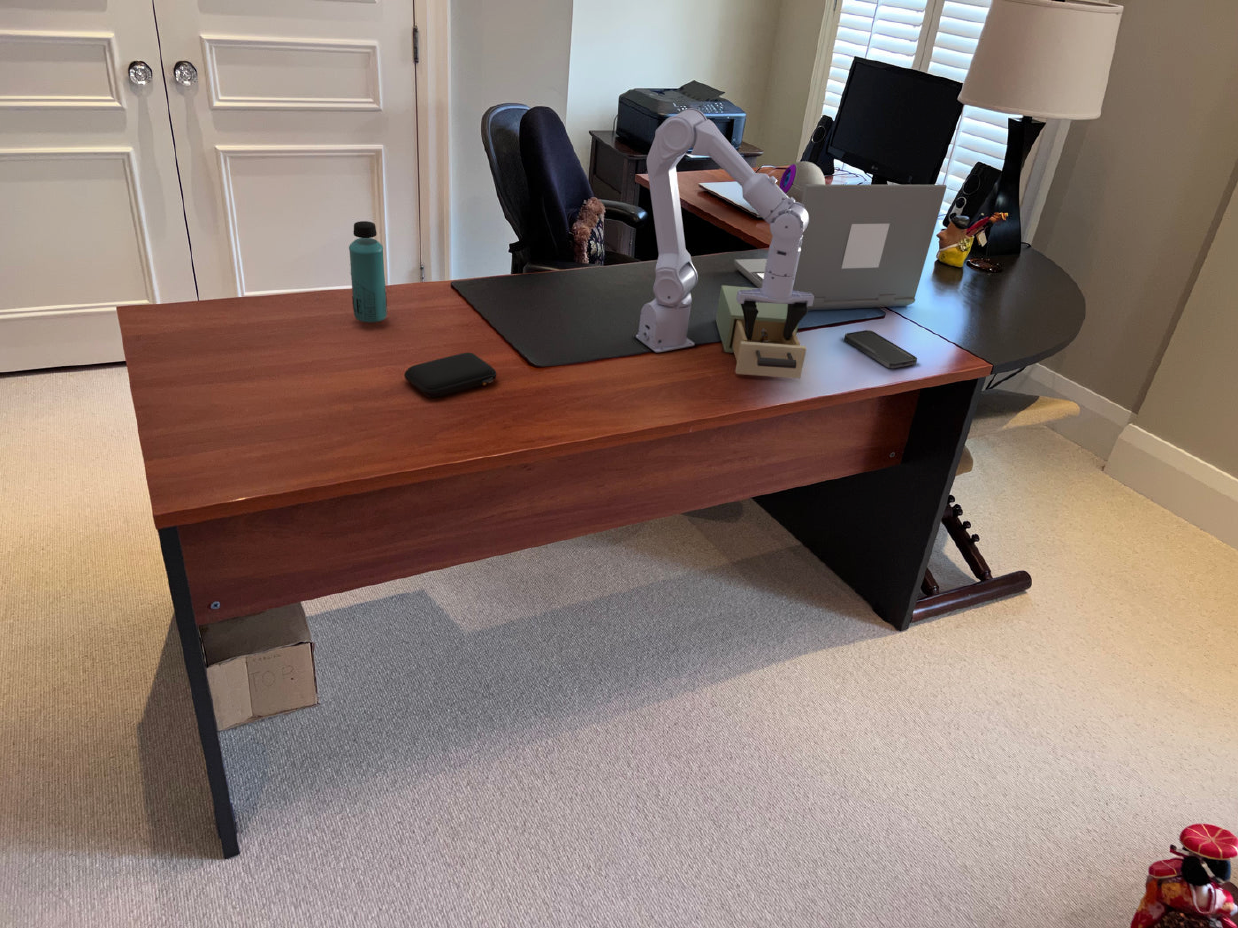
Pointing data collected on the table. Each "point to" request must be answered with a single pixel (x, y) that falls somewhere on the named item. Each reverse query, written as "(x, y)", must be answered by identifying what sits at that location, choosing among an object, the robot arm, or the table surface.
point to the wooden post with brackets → (764, 337)
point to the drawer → (767, 351)
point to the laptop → (861, 244)
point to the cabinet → (733, 310)
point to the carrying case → (450, 374)
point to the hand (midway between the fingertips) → (767, 338)
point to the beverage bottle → (367, 274)
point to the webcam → (800, 179)
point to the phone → (880, 349)
